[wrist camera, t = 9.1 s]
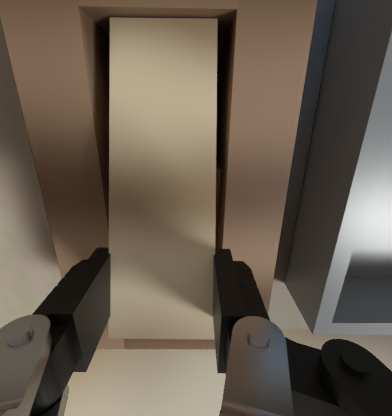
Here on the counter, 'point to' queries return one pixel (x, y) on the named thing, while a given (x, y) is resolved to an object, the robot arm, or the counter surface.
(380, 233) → the charcoal tray
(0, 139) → the counter surface
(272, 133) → the walnut pocket board
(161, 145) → the maple bar
